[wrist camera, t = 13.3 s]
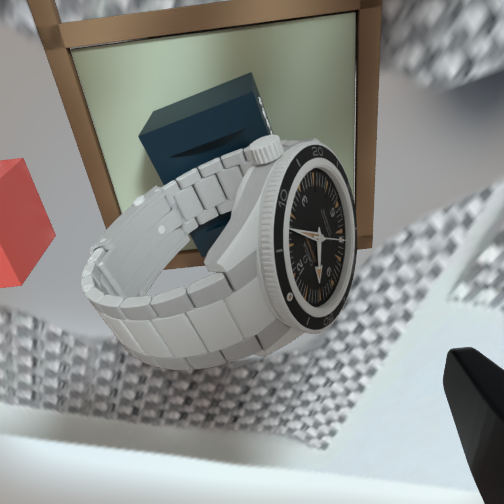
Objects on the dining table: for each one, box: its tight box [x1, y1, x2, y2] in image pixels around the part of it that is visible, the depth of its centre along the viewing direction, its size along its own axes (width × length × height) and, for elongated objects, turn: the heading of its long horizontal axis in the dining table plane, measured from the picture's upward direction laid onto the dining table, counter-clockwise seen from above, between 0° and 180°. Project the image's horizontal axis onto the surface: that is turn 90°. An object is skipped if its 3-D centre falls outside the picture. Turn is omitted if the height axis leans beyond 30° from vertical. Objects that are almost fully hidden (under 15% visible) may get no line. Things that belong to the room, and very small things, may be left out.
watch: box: [82, 72, 357, 370], centre depth 15 cm, size 6×8×11 cm
